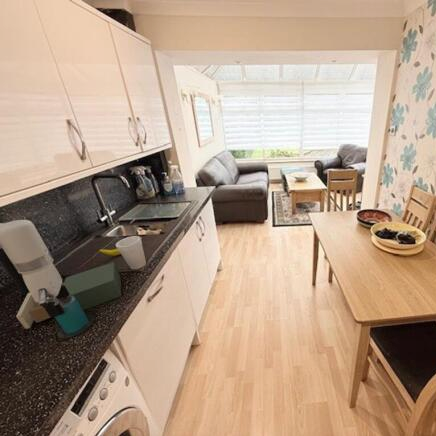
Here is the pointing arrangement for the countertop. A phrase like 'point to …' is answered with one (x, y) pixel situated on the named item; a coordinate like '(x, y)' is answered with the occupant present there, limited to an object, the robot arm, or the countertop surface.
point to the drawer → (32, 312)
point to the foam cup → (132, 251)
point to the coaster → (63, 335)
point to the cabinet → (95, 285)
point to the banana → (111, 251)
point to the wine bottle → (13, 272)
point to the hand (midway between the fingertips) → (61, 305)
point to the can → (71, 315)
